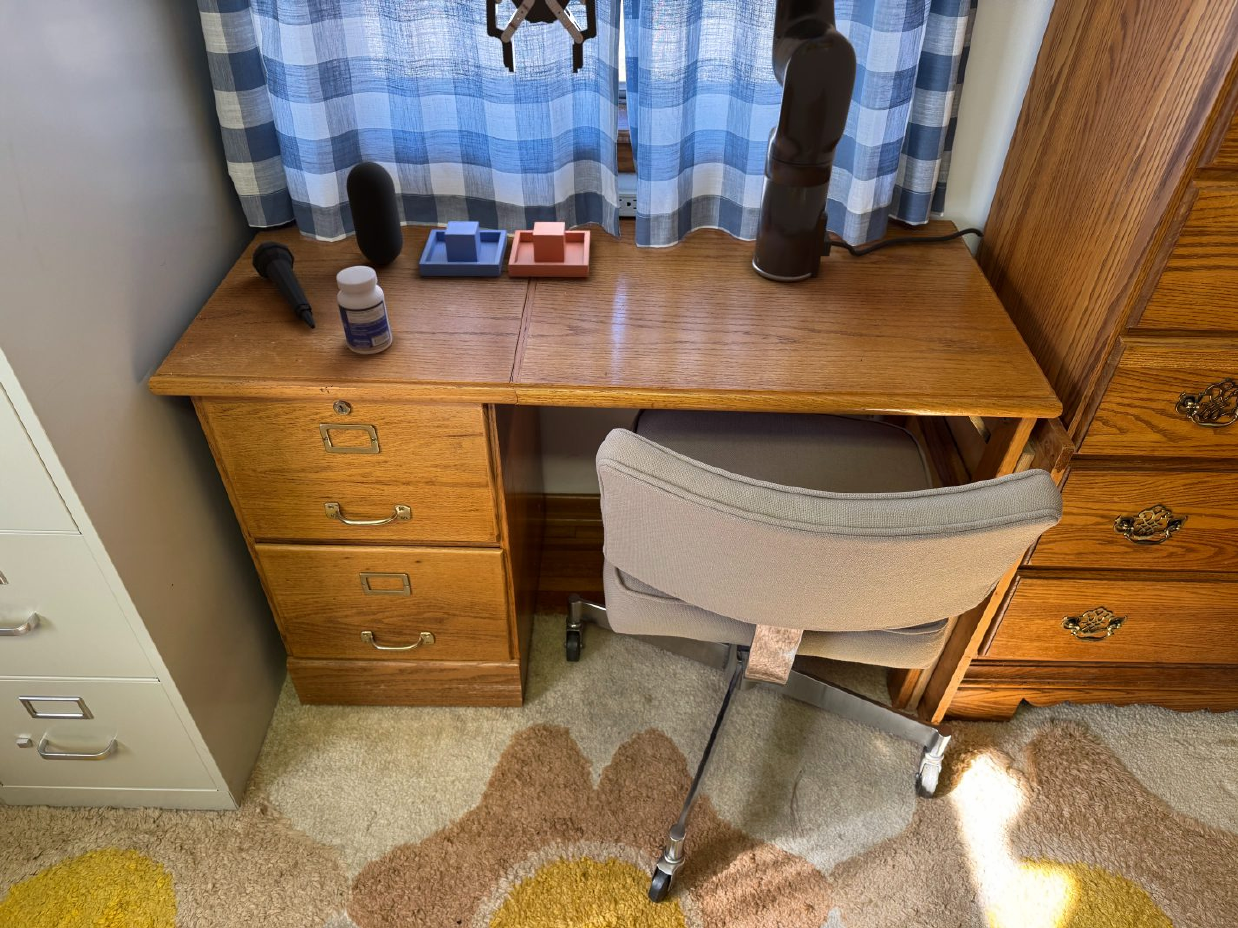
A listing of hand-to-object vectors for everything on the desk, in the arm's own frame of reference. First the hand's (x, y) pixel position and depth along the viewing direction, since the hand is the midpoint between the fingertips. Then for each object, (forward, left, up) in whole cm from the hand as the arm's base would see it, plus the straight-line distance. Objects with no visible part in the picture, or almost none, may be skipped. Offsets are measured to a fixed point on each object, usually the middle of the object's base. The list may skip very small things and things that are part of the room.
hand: (544, 71), depth 114 cm
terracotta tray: (0, +2, -26) cm, 26 cm away
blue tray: (+13, +2, -26) cm, 29 cm away
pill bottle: (+22, +27, -26) cm, 44 cm away
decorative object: (+25, +4, -26) cm, 37 cm away
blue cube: (+13, +3, -26) cm, 29 cm away
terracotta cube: (0, +3, -26) cm, 26 cm away
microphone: (+36, +16, -26) cm, 47 cm away
